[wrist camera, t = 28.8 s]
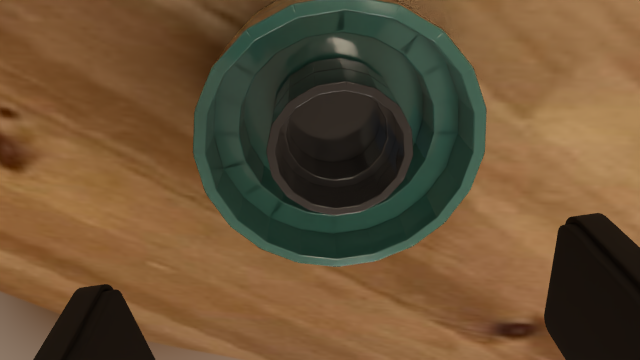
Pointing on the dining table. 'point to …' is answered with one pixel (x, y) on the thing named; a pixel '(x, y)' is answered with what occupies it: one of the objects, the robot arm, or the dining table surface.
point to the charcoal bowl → (338, 138)
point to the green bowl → (406, 86)
